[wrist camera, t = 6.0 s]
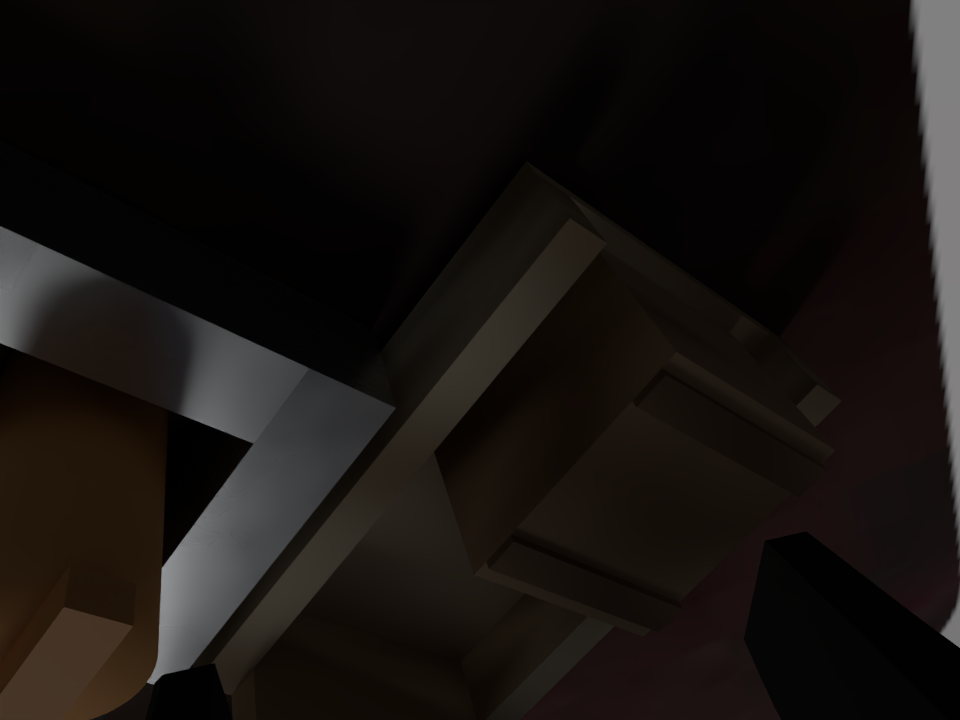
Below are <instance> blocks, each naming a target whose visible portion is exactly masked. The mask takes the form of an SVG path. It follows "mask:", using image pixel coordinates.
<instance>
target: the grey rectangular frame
mask: <svg viewBox="0 0 960 720" xmlns="http://www.w3.org/2000/svg"><path fill="white" fill-rule="evenodd" d="M0 343H1V344H4V345H6V346H9V347H11V348H14V349H16V350H19V351H21V352H24V353H26V354H29V355H31V356H34V357H36V358H39V359H41V360H44V361H47V362H49V363H52V364H54V365H57V366H59V367H62V368H64V369H67V370H69V371H72V372H74V373H77V374H79V375H82V376H84V377H87V378H89V379H92V380H94V381H97V382H100V383H102V384H105V385H107V386H110V387H112V388H115V389H117V390H120V391H122V392H125V393H127V394H130V395H132V396H135V397H137V398H140V399H142V400H145V401H148V402H150V403H153V404H155V405H158V406H160V407H163V408H165V409H168V410H170V411H173V412H175V413H178V414H180V415H183V416H185V417H188V418H190V419H193V420H195V421H198V422H201V423H202V424H201V425H200V427H199V428H198V430H197V431H196V432H195V434H194V435H193V437H192V438H191V439H190V441H189V442H188V444H187V445H186V447H185V448H184V449H183V451H182V452H181V454H180V455H179V457H178V458H177V459H176V461H175V462H174V464H173V465H172V466H171V468H170V469H169V471H168V472H167V474H166V485H165V508H164V531H163V554H162V577H161V600H160V623H159V646H158V659H157V663H156V667H155V669H154V671H153V673H152V675H151V677H150V678H149V680H148V681H147V683H150V684H155V682H156V681H157V680H158V679H159V678H160V677H161V676H162V675H164V674H168V673H173V672H177V671H182V670H186V669H189V668H190V667H191V666H192V664H193V663H194V662H195V661H196V659H197V658H198V657H199V655H200V654H201V653H202V652H203V650H204V649H205V648H206V647H207V645H208V644H209V643H210V642H211V640H212V639H213V638H214V637H215V635H216V634H217V633H218V632H219V630H220V629H221V628H222V627H223V625H224V624H225V623H226V621H227V620H228V619H229V618H230V616H231V615H232V614H233V613H234V611H235V610H236V609H237V608H238V606H239V605H240V604H241V603H242V601H243V600H244V599H245V598H246V596H247V595H248V594H249V593H250V591H251V590H252V589H253V587H254V586H255V585H256V584H257V582H258V581H259V580H260V579H261V577H262V576H263V575H264V574H265V572H266V571H267V570H268V569H269V567H270V566H271V565H272V564H273V562H274V561H275V560H276V559H277V557H278V556H279V555H280V553H281V552H282V551H283V550H284V548H285V547H286V546H287V545H288V543H289V542H290V541H291V540H292V538H293V537H294V536H295V535H296V533H297V532H298V531H299V530H300V528H301V527H302V526H303V525H304V523H305V522H306V521H307V519H308V518H309V517H310V516H311V514H312V513H313V512H314V511H315V509H316V508H317V507H318V506H319V504H320V503H321V502H322V501H323V499H324V498H325V497H326V496H327V494H328V493H329V492H330V491H331V489H332V488H333V487H334V486H335V484H336V483H337V482H338V480H339V479H340V478H341V477H342V475H343V474H344V473H345V472H346V470H347V469H348V468H349V467H350V465H351V464H352V463H353V462H354V460H355V459H356V458H357V457H358V455H359V454H360V453H361V452H362V450H363V449H364V448H365V446H366V445H367V444H368V443H369V441H370V440H371V439H372V438H373V436H374V435H375V434H376V433H377V431H378V430H379V429H380V428H381V426H382V425H383V424H384V423H385V421H386V420H387V419H388V418H389V416H390V415H391V414H392V412H393V411H394V410H395V409H396V406H395V403H394V399H393V396H392V393H391V389H390V386H389V382H388V379H387V375H386V372H385V369H384V365H383V362H382V358H381V355H380V351H379V348H378V345H377V341H376V338H375V334H374V331H373V329H372V328H370V327H368V326H366V325H364V324H362V323H360V322H358V321H356V320H354V319H352V318H350V317H348V316H346V315H344V314H342V313H341V312H339V311H337V310H335V309H333V308H331V307H329V306H327V305H325V304H323V303H321V302H319V301H317V300H315V299H313V298H311V297H309V296H307V295H305V294H303V293H301V292H299V291H297V290H295V289H293V288H291V287H289V286H287V285H285V284H283V283H281V282H279V281H277V280H275V279H273V278H271V277H269V276H267V275H266V274H264V273H262V272H260V271H258V270H256V269H254V268H252V267H250V266H248V265H246V264H244V263H242V262H240V261H238V260H236V259H234V258H232V257H230V256H228V255H226V254H224V253H222V252H220V251H218V250H216V249H214V248H212V247H210V246H208V245H206V244H204V243H202V242H200V241H198V240H196V239H194V238H192V237H190V236H189V235H187V234H185V233H183V232H181V231H179V230H177V229H175V228H173V227H171V226H169V225H167V224H165V223H163V222H161V221H159V220H157V219H155V218H153V217H151V216H149V215H147V214H145V213H143V212H141V211H139V210H137V209H135V208H133V207H131V206H129V205H127V204H125V203H123V202H121V201H119V200H117V199H115V198H113V197H112V196H110V195H108V194H106V193H104V192H102V191H100V190H98V189H96V188H94V187H92V186H90V185H88V184H86V183H84V182H82V181H80V180H78V179H76V178H74V177H72V176H70V175H68V174H66V173H64V172H62V171H60V170H58V169H56V168H54V167H52V166H50V165H48V164H46V163H44V162H42V161H40V160H38V159H37V158H35V157H33V156H31V155H29V154H27V153H25V152H23V151H21V150H19V149H17V148H15V147H13V146H11V145H9V144H7V143H5V142H3V141H1V140H0ZM105 716H106V714H103V715H101V716H98V717H96V718H93V719H90V720H104V718H105Z"/></svg>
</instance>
